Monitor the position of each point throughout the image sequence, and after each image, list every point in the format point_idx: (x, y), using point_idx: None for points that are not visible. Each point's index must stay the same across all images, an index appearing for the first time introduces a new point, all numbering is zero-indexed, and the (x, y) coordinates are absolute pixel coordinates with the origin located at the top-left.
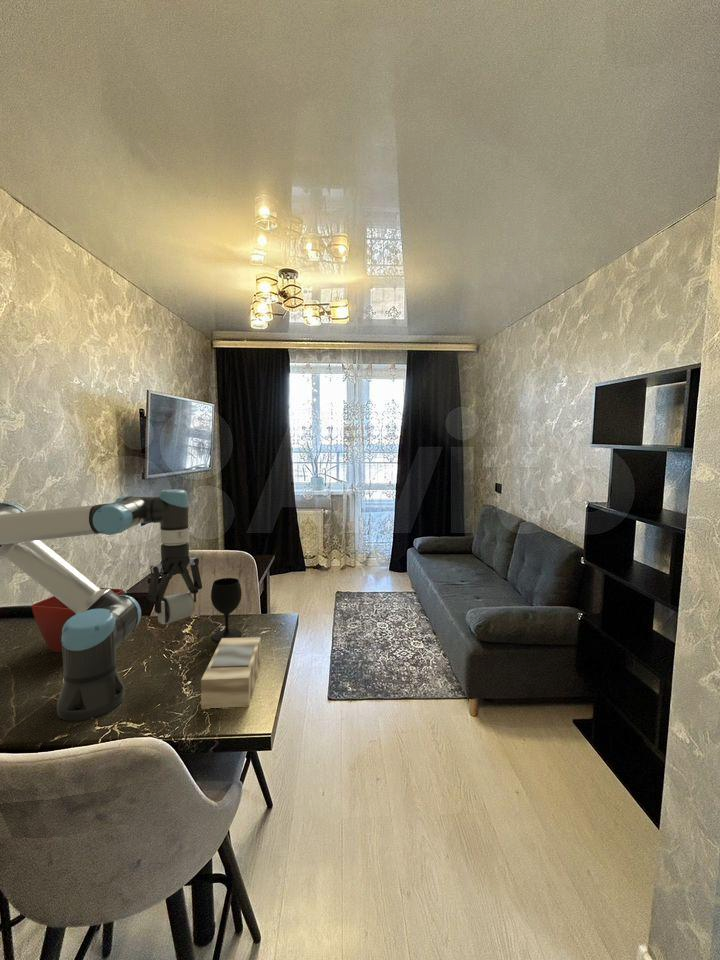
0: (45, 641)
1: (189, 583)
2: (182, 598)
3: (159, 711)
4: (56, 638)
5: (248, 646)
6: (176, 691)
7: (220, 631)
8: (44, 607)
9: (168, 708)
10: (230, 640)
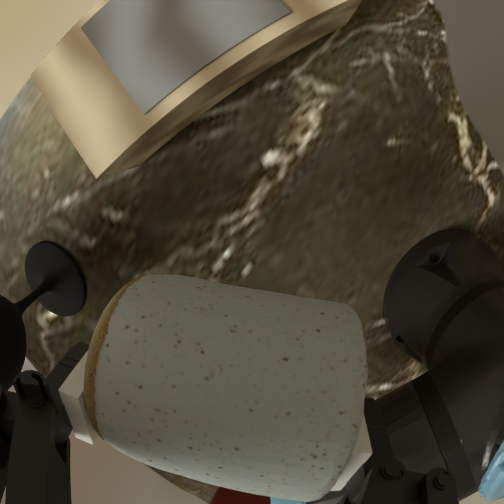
0: None
1: (42, 493)
2: (189, 405)
3: (408, 117)
4: None
5: (97, 31)
6: (325, 150)
7: (55, 308)
8: None
9: (390, 105)
10: (91, 132)
